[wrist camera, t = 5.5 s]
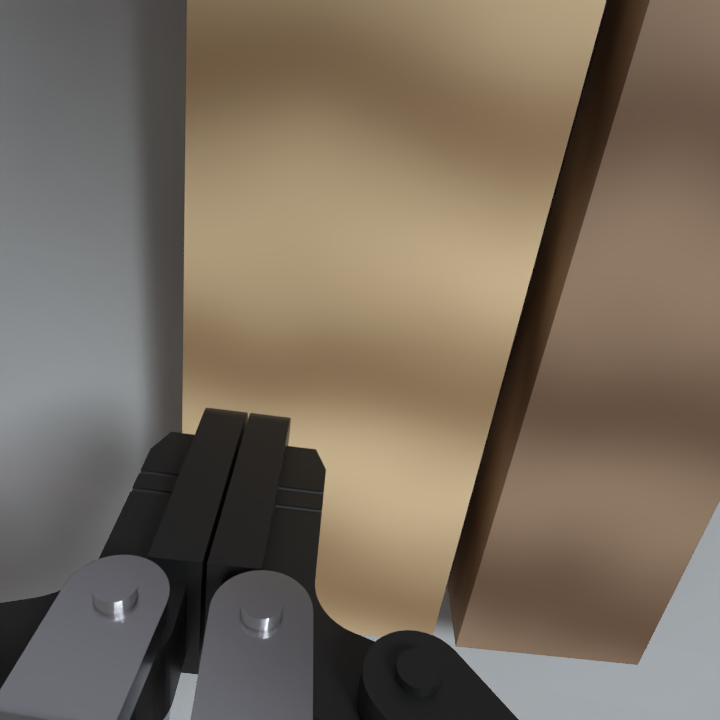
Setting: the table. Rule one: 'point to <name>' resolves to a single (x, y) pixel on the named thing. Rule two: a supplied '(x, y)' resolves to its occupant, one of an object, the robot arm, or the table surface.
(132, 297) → the table surface
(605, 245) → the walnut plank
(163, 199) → the table surface
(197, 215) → the oak plank
